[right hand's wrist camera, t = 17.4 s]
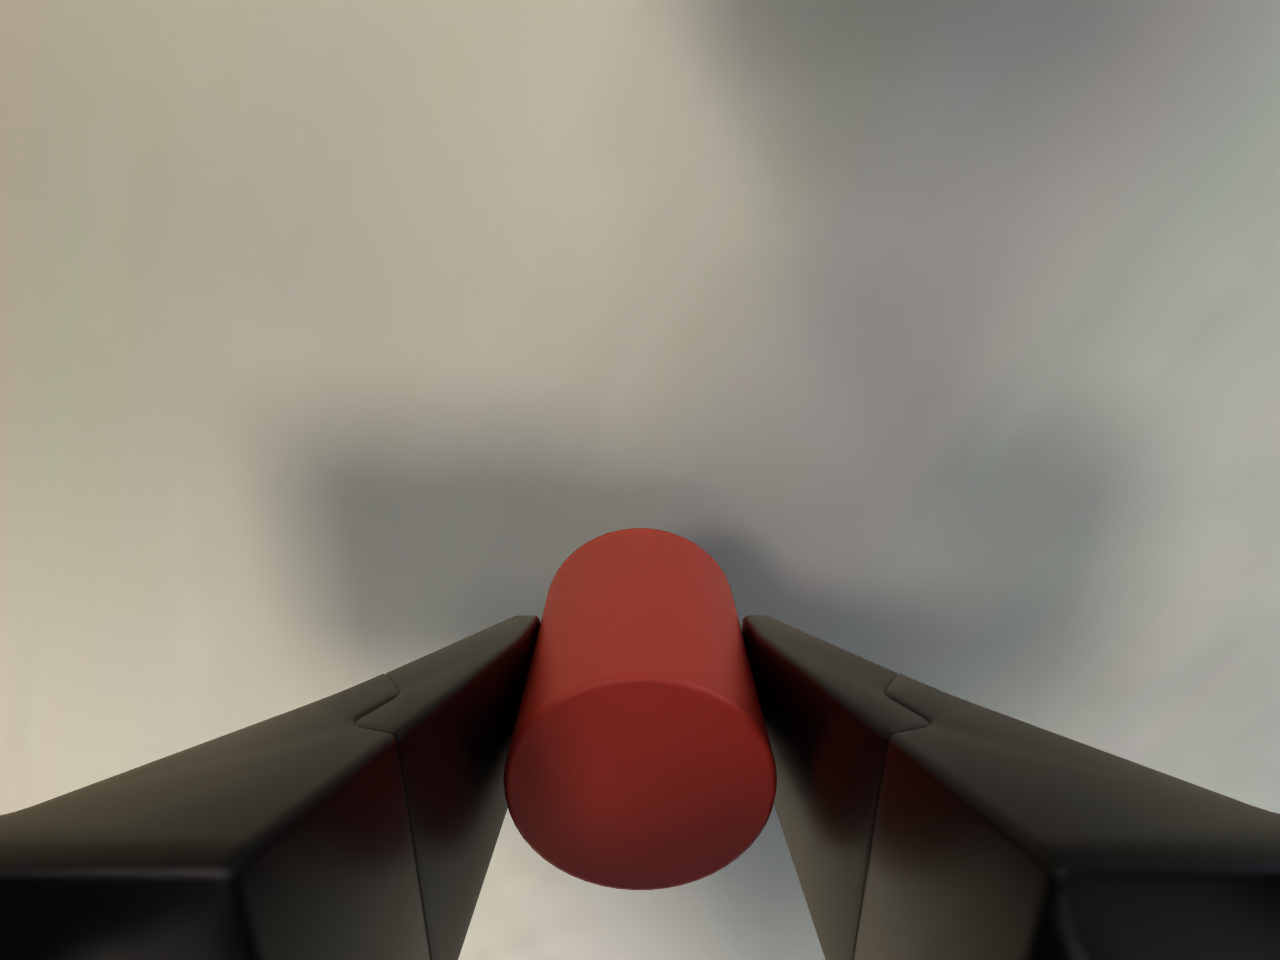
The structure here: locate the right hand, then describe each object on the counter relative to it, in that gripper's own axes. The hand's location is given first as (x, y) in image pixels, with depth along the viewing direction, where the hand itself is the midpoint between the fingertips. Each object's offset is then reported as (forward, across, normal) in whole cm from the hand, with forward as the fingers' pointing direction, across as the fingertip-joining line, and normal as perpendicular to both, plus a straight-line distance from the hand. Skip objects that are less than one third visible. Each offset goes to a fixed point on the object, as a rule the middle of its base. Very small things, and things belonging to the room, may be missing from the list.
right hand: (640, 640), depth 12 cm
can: (+1, 0, 0) cm, 1 cm away
